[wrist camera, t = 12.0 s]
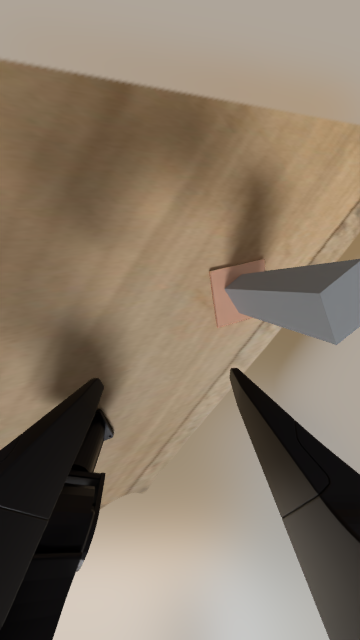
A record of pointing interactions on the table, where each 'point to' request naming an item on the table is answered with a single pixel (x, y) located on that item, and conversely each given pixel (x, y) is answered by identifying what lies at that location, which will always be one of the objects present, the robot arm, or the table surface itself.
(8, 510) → the robot arm
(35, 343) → the table surface
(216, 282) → the terracotta pad
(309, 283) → the grey rectangular pillar
